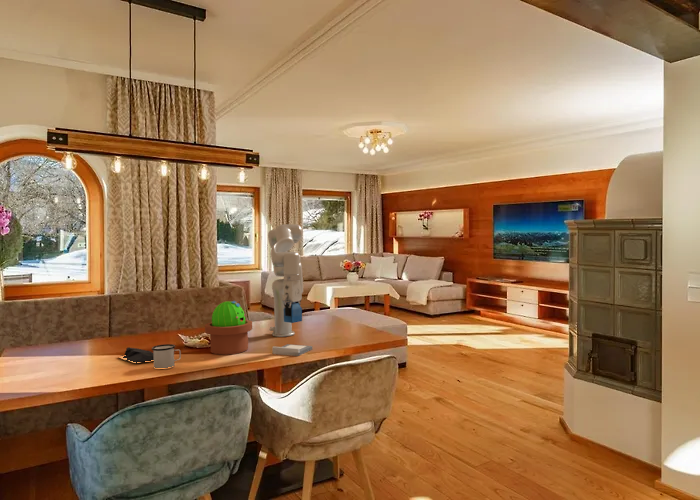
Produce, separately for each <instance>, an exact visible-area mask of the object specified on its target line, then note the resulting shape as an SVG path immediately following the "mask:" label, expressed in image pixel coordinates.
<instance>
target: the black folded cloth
mask: <svg viewBox="0 0 700 500" xmlns="http://www.w3.org/2000/svg"><path fill="white" fill-rule="evenodd" d="M123 355H126V356H124V357H123V358H127V360H130V361H133V362H136V363H137V362H145V361H151V360H154V359H153V351H151V350H145V349H140V348H135V347H127V348H126V350H125V351H124V354H122V355H121V356H123Z"/></svg>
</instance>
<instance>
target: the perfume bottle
mask: <svg viewBox="0 0 700 500" xmlns="http://www.w3.org/2000/svg"><path fill="white" fill-rule="evenodd" d="M288 304H289V303H288ZM290 308H291V311H292V316H285V307H284V322H289V323H292V324H295V323H299V322H302V321H303V308H302V307H301V304H300V305H299V303H296V302H292V303H291V307H290Z"/></svg>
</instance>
